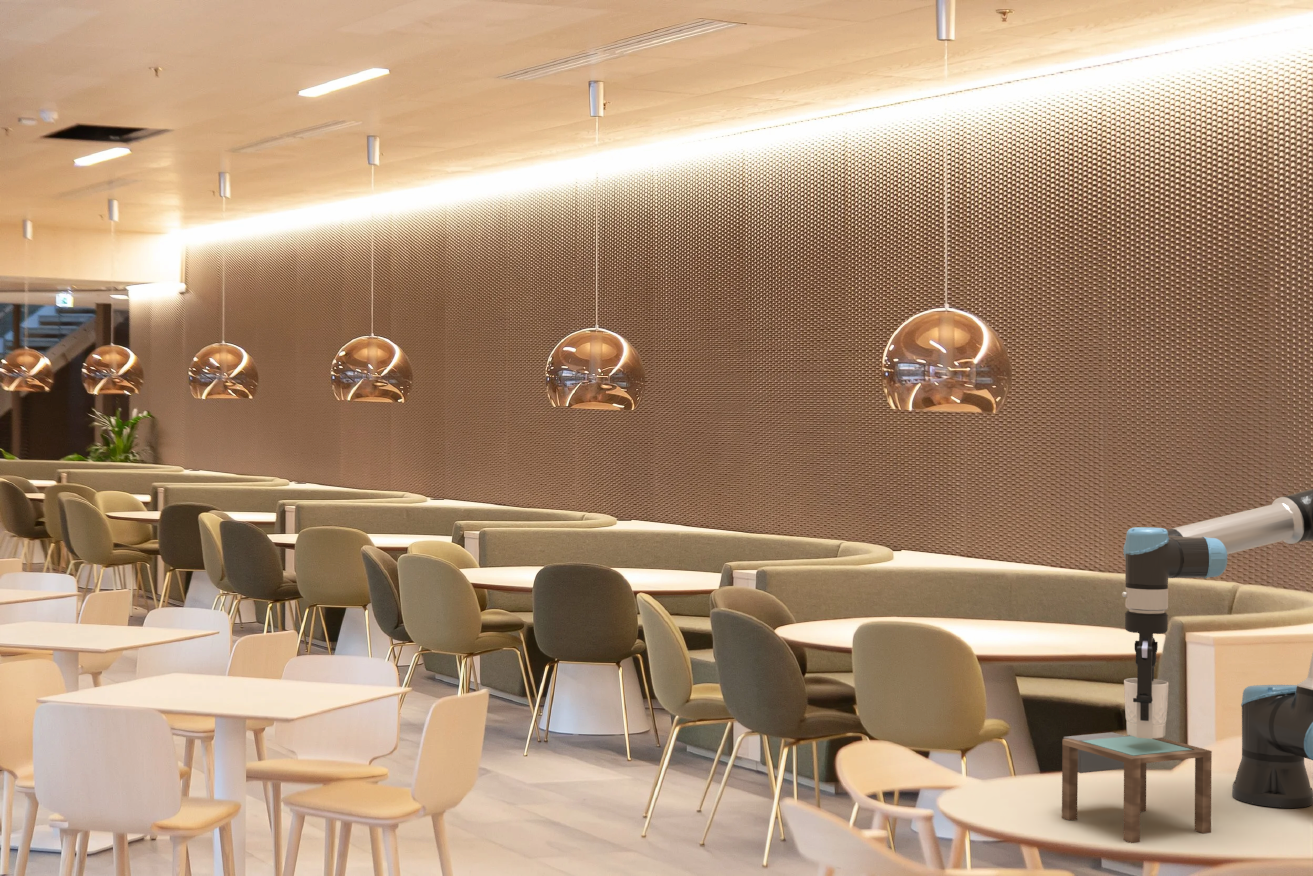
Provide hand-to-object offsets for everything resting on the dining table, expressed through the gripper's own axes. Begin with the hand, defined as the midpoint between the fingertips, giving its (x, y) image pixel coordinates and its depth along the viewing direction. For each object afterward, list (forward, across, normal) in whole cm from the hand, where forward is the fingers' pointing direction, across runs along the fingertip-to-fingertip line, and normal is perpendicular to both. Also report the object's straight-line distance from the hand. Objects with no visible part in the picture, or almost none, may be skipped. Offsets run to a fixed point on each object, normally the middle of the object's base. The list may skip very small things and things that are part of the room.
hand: (1145, 733), depth 273 cm
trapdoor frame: (+18, -2, -2) cm, 18 cm away
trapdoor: (+9, -4, -4) cm, 11 cm away
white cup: (0, 0, 0) cm, 0 cm away
